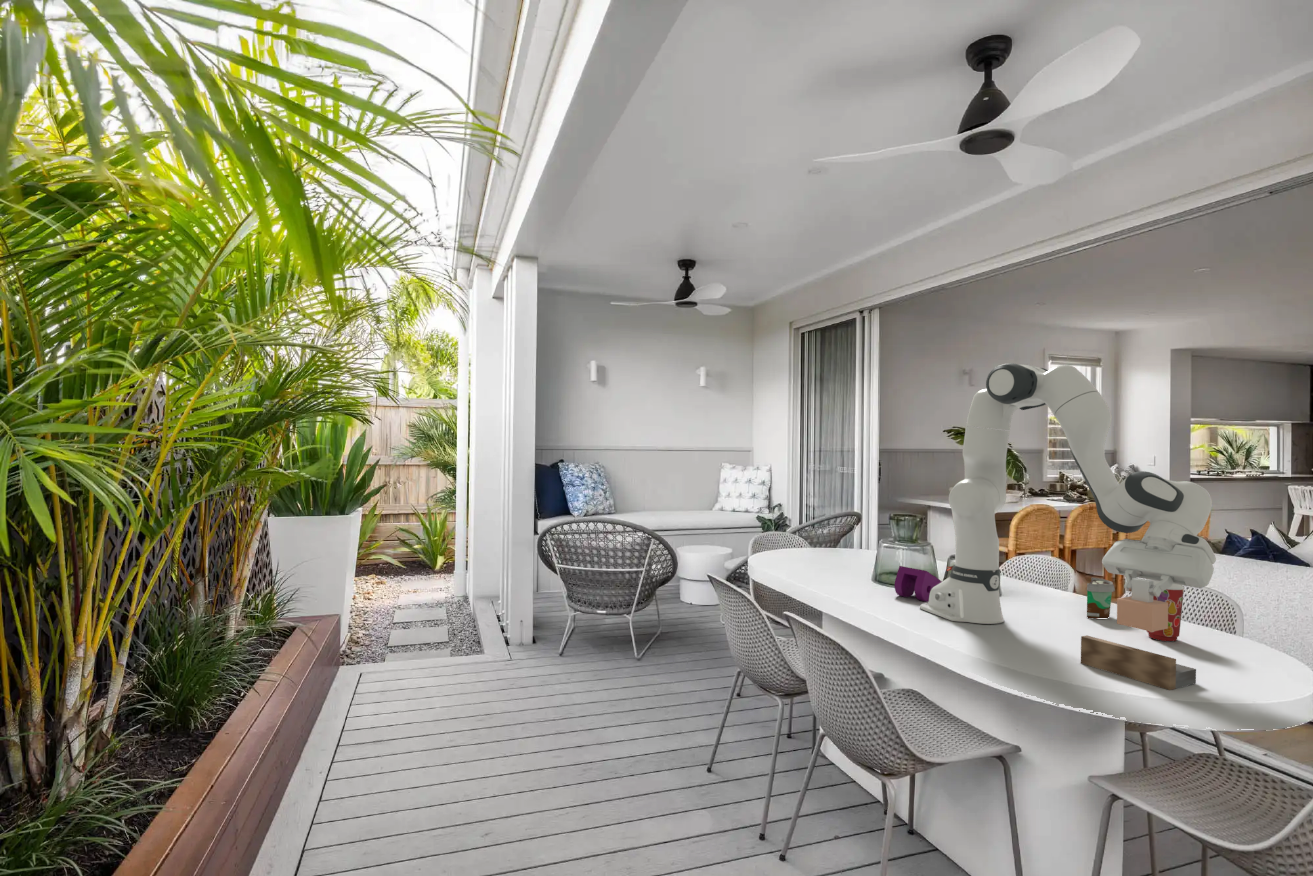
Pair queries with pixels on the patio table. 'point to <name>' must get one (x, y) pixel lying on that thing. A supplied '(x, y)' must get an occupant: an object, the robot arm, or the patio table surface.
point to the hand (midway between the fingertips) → (1140, 592)
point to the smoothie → (1170, 612)
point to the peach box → (1142, 608)
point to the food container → (1099, 598)
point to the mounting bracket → (915, 583)
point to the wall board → (1135, 663)
